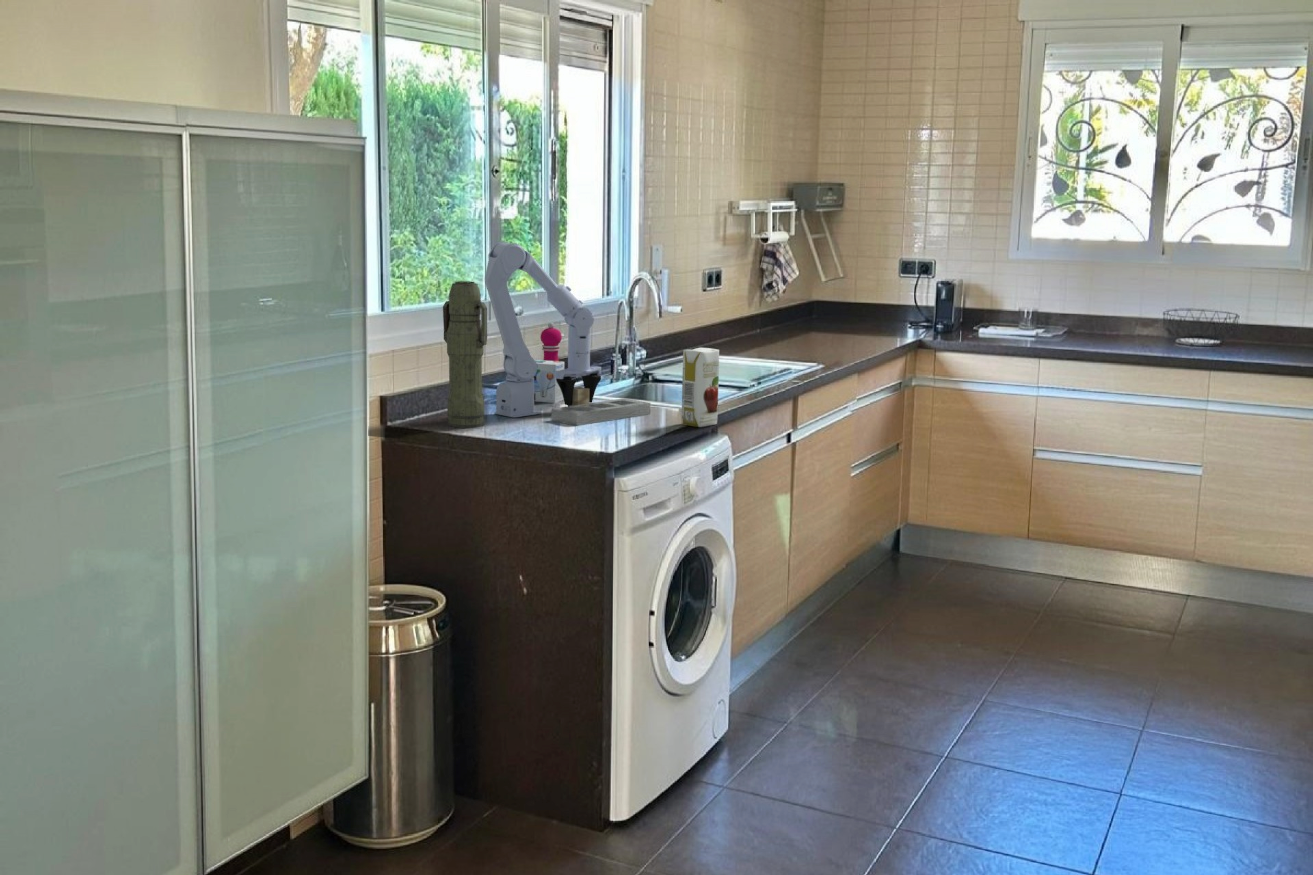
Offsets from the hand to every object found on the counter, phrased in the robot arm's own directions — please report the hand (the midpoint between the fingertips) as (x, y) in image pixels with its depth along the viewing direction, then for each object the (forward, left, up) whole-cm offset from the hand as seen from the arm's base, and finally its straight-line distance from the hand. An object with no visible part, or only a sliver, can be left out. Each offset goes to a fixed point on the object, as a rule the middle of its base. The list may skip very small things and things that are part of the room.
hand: (578, 403), depth 345 cm
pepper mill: (+15, +28, -2) cm, 32 cm away
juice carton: (+10, -34, -2) cm, 36 cm away
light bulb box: (+4, +19, -2) cm, 20 cm away
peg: (0, 0, -2) cm, 2 cm away
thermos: (-35, +3, -2) cm, 35 cm away
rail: (-2, -11, -2) cm, 11 cm away
